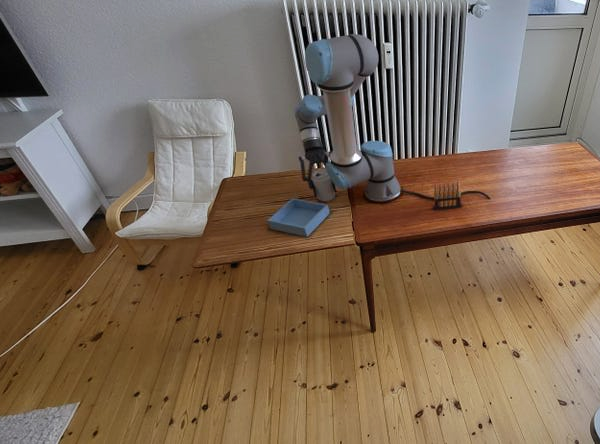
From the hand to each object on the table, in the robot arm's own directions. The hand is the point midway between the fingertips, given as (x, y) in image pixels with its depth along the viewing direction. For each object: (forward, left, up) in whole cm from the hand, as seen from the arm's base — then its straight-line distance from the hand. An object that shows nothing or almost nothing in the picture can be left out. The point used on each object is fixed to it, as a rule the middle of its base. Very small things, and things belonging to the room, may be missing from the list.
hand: (325, 193), depth 154 cm
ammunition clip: (-50, -11, -4) cm, 51 cm away
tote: (+3, +14, -4) cm, 15 cm away
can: (+2, -3, -5) cm, 6 cm away
